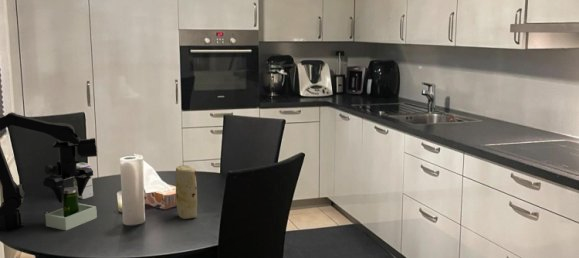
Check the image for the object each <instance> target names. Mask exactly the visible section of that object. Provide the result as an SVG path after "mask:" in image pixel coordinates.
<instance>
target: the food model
mask: <svg viewBox="0 0 579 258" xmlns="http://www.w3.org/2000/svg"><path fill="white" fill-rule="evenodd" d="M197 185H198V184H197V170H196V169H195V168H194V167H192V166H189V165H184V164H183V165H182V164H181V165H179V166H177V167H176V168H175V203H176V204H175V205H176V210H177V215H178V216H179V218H181V219H183V220H186V219H194V218H196V217H197V215H198V187H197Z"/></svg>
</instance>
